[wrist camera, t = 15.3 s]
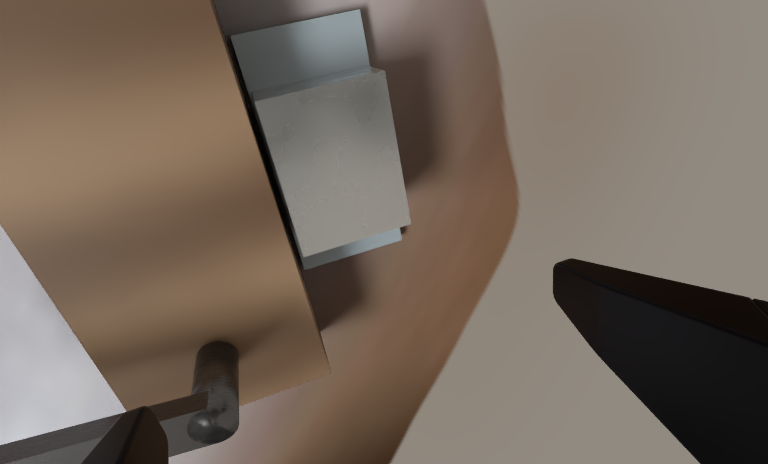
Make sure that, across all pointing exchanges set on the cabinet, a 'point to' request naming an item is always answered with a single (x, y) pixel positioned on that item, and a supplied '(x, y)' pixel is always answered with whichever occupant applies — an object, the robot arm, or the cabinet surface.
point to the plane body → (148, 196)
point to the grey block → (336, 156)
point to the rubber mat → (300, 62)
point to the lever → (177, 417)
